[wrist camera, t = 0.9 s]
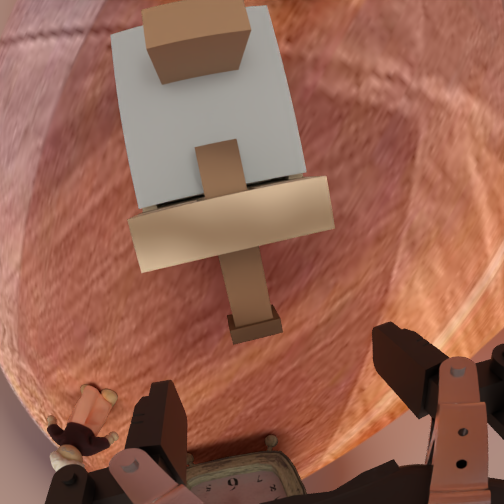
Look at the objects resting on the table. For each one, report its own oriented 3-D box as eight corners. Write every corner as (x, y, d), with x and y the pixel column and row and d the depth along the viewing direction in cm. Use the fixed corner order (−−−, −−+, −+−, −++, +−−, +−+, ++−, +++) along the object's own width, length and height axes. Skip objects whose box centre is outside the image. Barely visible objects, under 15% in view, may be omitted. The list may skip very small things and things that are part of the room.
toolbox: (133, 70, 24) (96, 13, 13) (251, 46, 25) (276, -20, 14) (166, 237, 28) (141, 273, 17) (286, 210, 29) (334, 228, 18)
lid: (114, 40, 17) (83, -7, 10) (264, 11, 18) (286, -42, 11) (141, 207, 20) (112, 219, 13) (302, 172, 21) (344, 169, 14)
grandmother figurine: (122, 383, 30) (95, 469, 18) (129, 409, 31) (108, 494, 19) (61, 378, 29) (18, 452, 17) (70, 403, 30) (34, 478, 18)
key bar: (189, 152, 19) (187, 148, 17) (239, 141, 19) (244, 136, 17) (230, 328, 22) (233, 344, 19) (275, 317, 22) (283, 332, 20)
